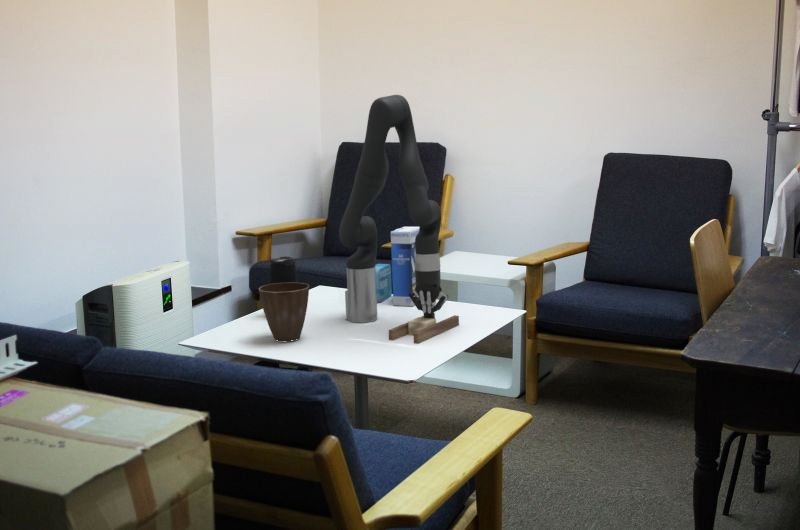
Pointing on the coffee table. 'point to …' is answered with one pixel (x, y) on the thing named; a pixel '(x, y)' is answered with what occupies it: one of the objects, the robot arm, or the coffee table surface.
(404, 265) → the string lights box
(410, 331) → the maple block
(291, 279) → the portable speaker
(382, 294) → the data package
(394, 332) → the walnut chute
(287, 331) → the plant pot
